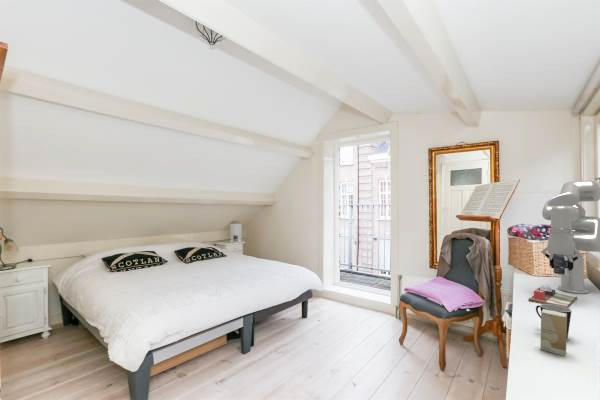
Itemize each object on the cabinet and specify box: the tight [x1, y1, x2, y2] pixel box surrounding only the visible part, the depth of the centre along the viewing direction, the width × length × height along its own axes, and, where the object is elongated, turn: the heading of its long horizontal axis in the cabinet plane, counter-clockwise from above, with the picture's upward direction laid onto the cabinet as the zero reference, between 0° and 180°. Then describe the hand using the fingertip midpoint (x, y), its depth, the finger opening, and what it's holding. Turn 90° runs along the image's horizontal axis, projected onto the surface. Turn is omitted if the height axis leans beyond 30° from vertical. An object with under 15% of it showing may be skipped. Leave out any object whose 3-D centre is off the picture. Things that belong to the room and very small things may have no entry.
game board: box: [528, 286, 578, 309], centre depth 153 cm, size 24×14×3 cm, turn 131°
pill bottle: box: [552, 255, 569, 276], centre depth 150 cm, size 6×6×11 cm
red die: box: [533, 289, 545, 300], centre depth 151 cm, size 4×4×4 cm
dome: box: [540, 284, 552, 292], centre depth 160 cm, size 5×5×4 cm
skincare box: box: [539, 309, 568, 357], centre depth 99 cm, size 6×4×12 cm
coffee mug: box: [535, 303, 572, 341], centre depth 112 cm, size 12×9×10 cm
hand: (561, 268), depth 150 cm, fingers closed on pill bottle, 6 cm apart
